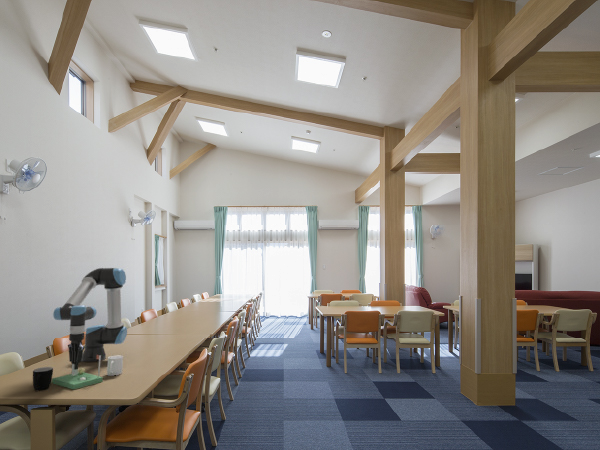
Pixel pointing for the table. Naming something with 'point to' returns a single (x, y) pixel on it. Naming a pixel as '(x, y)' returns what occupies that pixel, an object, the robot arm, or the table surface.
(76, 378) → the green
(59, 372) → the table surface
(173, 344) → the table surface
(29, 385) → the table surface
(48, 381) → the mug
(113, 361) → the cup
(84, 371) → the yellow ball
